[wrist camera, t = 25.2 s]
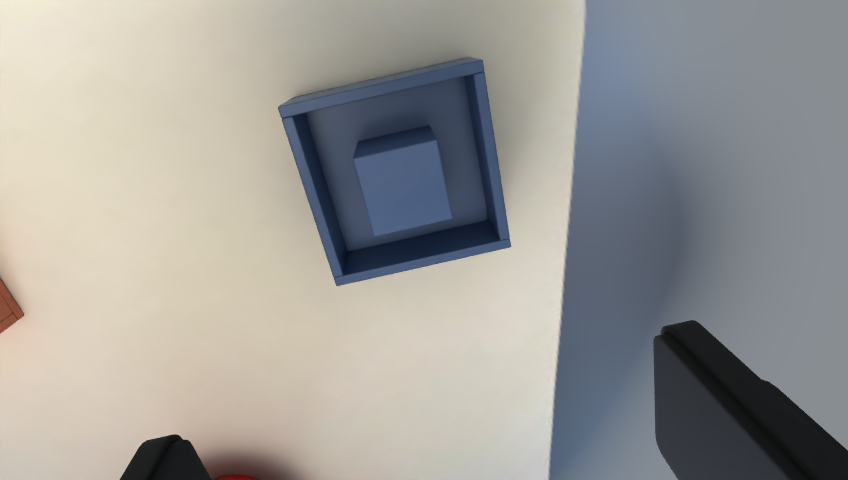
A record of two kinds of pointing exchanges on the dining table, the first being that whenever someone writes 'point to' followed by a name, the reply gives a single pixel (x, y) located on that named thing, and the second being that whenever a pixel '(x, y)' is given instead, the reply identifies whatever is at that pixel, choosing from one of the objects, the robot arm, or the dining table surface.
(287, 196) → the dining table surface
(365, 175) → the block
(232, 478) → the ceramic cup
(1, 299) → the terracotta bin
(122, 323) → the dining table surface
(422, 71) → the slate bin
